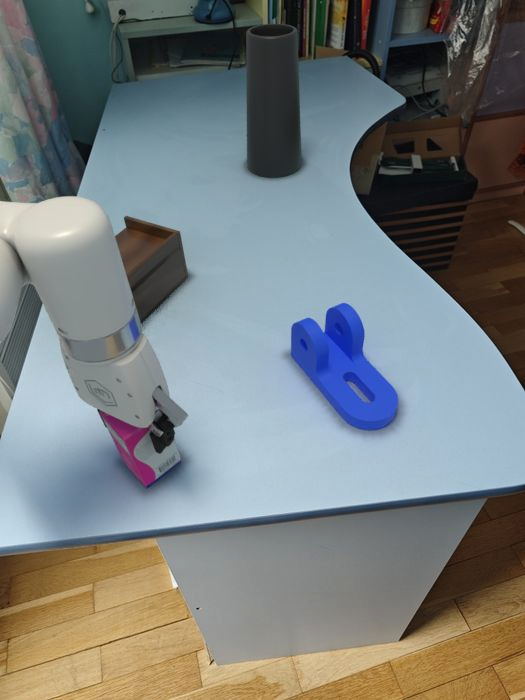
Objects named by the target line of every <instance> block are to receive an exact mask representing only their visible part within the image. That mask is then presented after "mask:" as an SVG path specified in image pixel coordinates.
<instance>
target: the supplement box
mask: <svg viewBox="0 0 525 700" xmlns="http://www.w3.org/2000/svg"><path fill="white" fill-rule="evenodd" d="M100 414H101V416H102V418H103V420H104V422H105V425H106V426H107V428H106V429H107V431H108V433H109V435H110V437H111V439H112V441H113V443H114V445H115V447H116V449H117V451H118V453H119V455H120V457H121V459H122V462H123V463H124V464H125V465H126V466H127V468H128V469H129V470H130V471H131V472H132V474H133V475H134V476H135V477H136V478H137V480H138V481H139V482H140V483H141V484H142V486H144V487H145V488H146V489H148V488H150V487H151V486H152V485H154V484H155V483H156V482H157V481H159V480H160V479H162V477H164V476H165V475H167V474H168V473H169V472H171V471H172V470H173V469H174V468H176V467H177V466H178V465H179V464H181V463H182V458H181V455H180V451H179V449H178V445H177V442H176V439H175V438H174V440H173V442H172V443H171V445H170V446H168V447H167V446H166V448H165V449H164V450H163V452H162V453H161V454H159V453H157V452H156V451H155V449H154V446H153V443H152V441H151V438H150V435H149V434H150V432H151V430H150V428H149V427H146V428H140V427H136V426H133V425H131V424H128V423H126V422H124V421H122V420H120V419H118V418H115V417H113V416H111V415H109V414H107V413H105V412H103V411H100ZM161 416H163V415H162V414H161V413H160V412H159V410H158V411H157V412H156V413H155V417H154V420H155V421H156V422H157V421H158V419H159V418H160V417H161ZM105 425H104V426H105Z"/></svg>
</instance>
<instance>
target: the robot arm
mask: <svg viewBox="0 0 525 700" xmlns="http://www.w3.org/2000/svg"><path fill="white" fill-rule="evenodd" d="M115 236H116V235H115V231H114V228H113V225H112V223H111V220H110V217H109V215H108V214H107V212H106V211H105V209H104V208H103V207H102V206H101V205H99V203H97V202H96V201H94V200H92V199H89V198H86V197H83V196H77V195H76V196H75V195H66V196H57V197H53V198H48V199H45V200H42V201H39V202H17V201H3V200H0V344H2V343H3V342H4V340H5V339H6V338H7V336H8V335H9V333H10V331H11V329H12V327H13V324H14V321H15V318H16V314H17V311H18V307H19V304H20V298H21V294H22V289H23V288H24V286H26V285H28V284H29V285H32V286H33V287H34V288H35V291H36V293H37V295H38V297H39V298H40V301H41V303H42V306H43V307H44V309H45V311H46V313H47V315H48V318H49V319H50V321H51V324H52V326H53V327H54V330H55V332H56V335H57V336H58V338H59V339H58V340H59V348H60V351H61V352H60V353H61V356H62V359H63V363H64V366H65V369H66V370H67V374H68V376H69V379H70V380H71V383H72V385H73V388H74V390H75V392H76V394H77V395H78V398H79V399H80V400H82V401H83V402H84V403H86V404H87V405H89V406H90V407H93V408H95V409H96V410H97V412H98V415H99V417H100V419H101V421H102V423H103V426H104V427H105V428H106V429H107V426H106V425H105V422H104V420H103V418H102V416H101V414H100V411H103V412H105V413H107V414H109V415H111V416H113V417H115V418H118V419H120V420H122V421H124V422H126V423H128V424H131V425H133V426H136V427H140V428H146V427H149V428H150V430H151V432H150V434H149V435H150V438H151V441H152V443H153V446H154V449H155V451H156V452H157V453H159V454H161V453H162V452H163V450H164V449H165V448H166V446H167V447H168V446H170V445H171V443H172V442H173V440H174V439H175V435H176V431H175V429H174V428H179V427H181V426H182V425H183V424H184V423H185V421H186V420H187V419H188V417H189V414H188V413H187V412H186V411H185V410H184V409H183V408H182V407H181V406H180V405H179V404H178V403H176V402H175V401H174V400H173V398H171V397H170V396H171V395H170V390H169V385H168V382H167V379H166V375H165V373H164V370H163V368H162V365H161V363H160V361H159V358H158V356H157V354H156V352H155V350H154V348H153V345H152V344H151V343H150V340H149V339H148V337H147V335H146V334H144V331H143V326H142V324H141V322H140V319H139V316H138V312H137V309H136V305H135V302H134V298H133V295H132V292H131V289H130V285H129V282H128V279H127V275H126V272H125V269H124V265H123V262H122V258H121V255H120V252H119V248H118V245H117V241H116V238H115ZM158 410H159V412H160V413H161V414H162V415H163V416H161V417H160V418H159V419H158V421H157V422H156V421H155V420H154V417H155V413H156V412H157V411H158Z"/></svg>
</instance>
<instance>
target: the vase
mask: <svg viewBox="0 0 525 700" xmlns="http://www.w3.org/2000/svg"><path fill="white" fill-rule="evenodd" d="M245 36H246V37H245V38H246V39H245V40H246V41H245V43H246V46H245V47H246V49H245V50H246V51H245V52H246V53H245V55H246V57H245V58H246V61H245V62H246V66H245V67H246V68H245V69H246V73H245V74H246V75H245V76H246V167H247V169H248V171H249V172H250V173H251V174H254V175H256V176H259V177H263V178H272V179H273V178H283V177H288V176H290V175H293V174H295V173H296V172H298V171H299V170H300V169H301V167H302V161H303V159H302V136H301V135H302V131H301V130H302V128H301V126H302V125H301V100H300V99H301V98H300V97H301V96H300V70H299V41H298V40H299V39H298V37H299V36H298V28H296V27H295V26H293V25H290V24H286V23H264V24H258V25H255V26H252V27H250V28H248V29H247V31H246V35H245Z"/></svg>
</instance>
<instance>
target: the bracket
mask: <svg viewBox="0 0 525 700" xmlns="http://www.w3.org/2000/svg"><path fill="white" fill-rule="evenodd" d="M290 331H291V332H290V356H291V358H292V359H293V360H294V361H295V362H296V364H297V365H298V366H299V368H300V369H301V370H302V371H303V372H304V373H305V375H306V376H307V377H308V378H309V380H310V381H311V382H312V383H313V384H314V386H315V387H316V389H318V391H319V392H320V393H321V394H322V395H323V396H324V398H325V399H326V400H327V402H329V404H330V405H331V406H332V407H333V409H334V410H335V411H336V413H338V415H339V417H341V419H343V421H345V423H347V424H348V425H350V426H352V427H354V428H356V429H359V430H363V431H364V430H365V431H375V430H380V429H382V428H385V427H386V426H388V425H389V424H390V423H391V422H392V421H393V420H394V418H395V415H396V413H397V408H398V405H399V396H398V393H397V390H396V388H394V386H393V385H392V384H391V383H390V382H389V381H388V380H387V379H386V378H385V377H384V376H383V375H382V374H381V372H379V370H377V369H376V368H375V366H373V365H372V363H371V362H370V361H369V360H368V359H367V358H366V357H365V354H364V351H363V349H364V343H365V338H366V337H365V335H366V334H365V328H364V324H363V321H362V319H361V316H360V315H359V313H358V312H357V311H356V309H355V308H354V307H353V306H352V305H350V304H349V303H347V302H342V303H339V304H336V305H334V306H331V307H329V308H328V309H327V310H326V313H325V322H324V330H323V328H322V327H321V326H320V325H319V323H318V322H317V321H316V320H314V319H313V318H311V317H305V318H303V319H301V320H299V321H295V322H294V323H292V325H291V329H290ZM347 382H352V383H353V384H354V385H355V386H356V387H357V388H358V389H359V390H360V391H361V392H362V394H363V395H364V396H365V397H366V398H367V400H369V402H366V401H364V400H363V399H362V398H361V397H360V395H359V394H357V392H356V391H355V390H354V389H353V388H352V387H351V386H350V385H349V384H348V383H347Z"/></svg>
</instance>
